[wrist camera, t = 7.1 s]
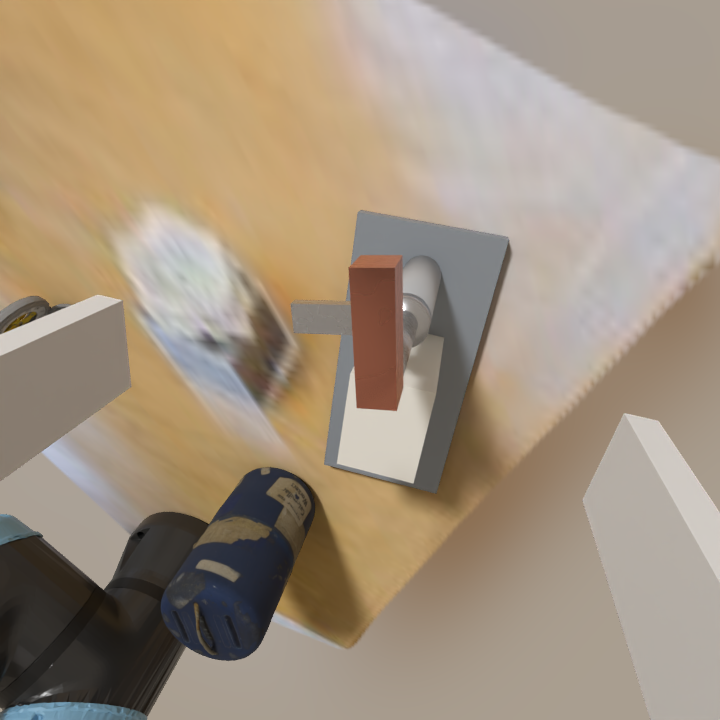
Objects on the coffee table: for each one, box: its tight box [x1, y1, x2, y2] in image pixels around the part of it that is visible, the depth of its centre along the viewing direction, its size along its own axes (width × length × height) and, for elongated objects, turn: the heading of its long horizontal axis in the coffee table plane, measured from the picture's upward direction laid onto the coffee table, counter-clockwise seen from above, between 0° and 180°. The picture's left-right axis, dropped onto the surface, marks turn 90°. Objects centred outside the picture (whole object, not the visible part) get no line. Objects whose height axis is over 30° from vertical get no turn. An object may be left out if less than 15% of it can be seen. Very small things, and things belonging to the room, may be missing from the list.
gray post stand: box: [324, 210, 509, 493], centre depth 38 cm, size 26×12×11 cm, turn 171°
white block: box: [337, 334, 444, 483], centre depth 38 cm, size 8×6×10 cm
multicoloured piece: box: [291, 255, 431, 411], centre depth 24 cm, size 9×7×10 cm
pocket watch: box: [0, 296, 71, 334], centre depth 45 cm, size 8×8×10 cm
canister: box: [161, 467, 315, 661], centre depth 46 cm, size 10×10×18 cm
